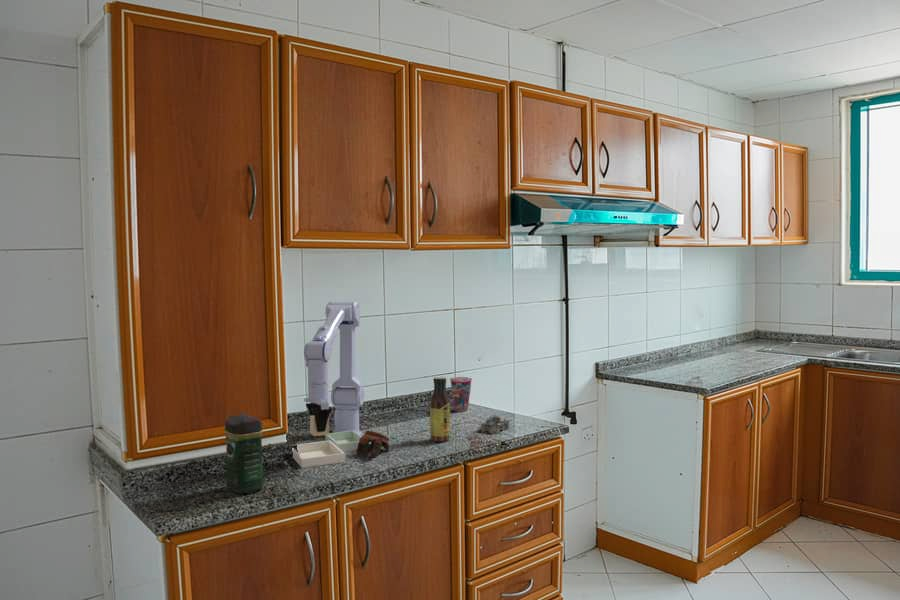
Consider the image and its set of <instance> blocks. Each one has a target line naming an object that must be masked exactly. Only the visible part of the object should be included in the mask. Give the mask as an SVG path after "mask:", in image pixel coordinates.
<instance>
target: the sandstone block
mask: <svg viewBox="0 0 900 600" xmlns="http://www.w3.org/2000/svg"><path fill="white" fill-rule="evenodd" d="M309 433H310V434H311V435H312V436H313V437H317V436H319V437H320V436H325V435H329V433H330V417H328V420H327V425H326V429H325V431H324V432H318V431H317V428H316V421H315V417H314V415H311V416H310V415H309Z"/></svg>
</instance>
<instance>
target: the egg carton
mask: <svg viewBox="0 0 900 600" xmlns="http://www.w3.org/2000/svg"><path fill="white" fill-rule="evenodd" d="M511 421H512V420H511V419H507V420H506V418H504V419H503V420H501V417H500V416H498V415H496V414H492V415H490V416H489V418H488V419H486V420H485V421H482V422H480V423H478V425H479V426H480V431H481V432H482V433H485V431H489V434H495V433H494V432H497V433H496V434H499V433H500V431H499V430H504V431H505V429H504V428H509V429H510V422H511ZM498 432H499V433H498Z"/></svg>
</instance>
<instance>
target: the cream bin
mask: <svg viewBox="0 0 900 600" xmlns="http://www.w3.org/2000/svg"><path fill="white" fill-rule="evenodd" d="M296 445H297V450H298V452H297V451H296V450H295V449H294V448H292V452H293V457H292V458H293V459H294V461H295V462H296V463H297V464H298V465H299V467H301V469H307V468H311V467H319V466H325V465H326V466H327V465H332V464H333V465H335V464H341V463H346V452H343V451H342V450H341V449H339V448H338V447H337V446H336V445H335V444H334V443H333V442H331V441H330V440H329V441H325V440H324V441H323V440H322V441H315V442H308V443H307V442H306V443H298V444H296Z"/></svg>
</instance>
